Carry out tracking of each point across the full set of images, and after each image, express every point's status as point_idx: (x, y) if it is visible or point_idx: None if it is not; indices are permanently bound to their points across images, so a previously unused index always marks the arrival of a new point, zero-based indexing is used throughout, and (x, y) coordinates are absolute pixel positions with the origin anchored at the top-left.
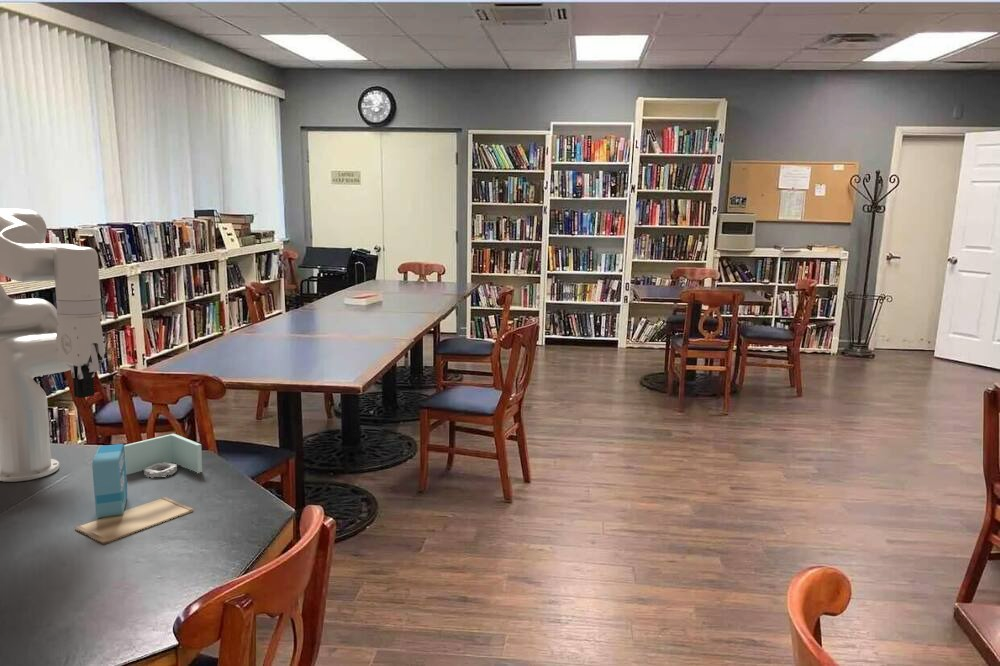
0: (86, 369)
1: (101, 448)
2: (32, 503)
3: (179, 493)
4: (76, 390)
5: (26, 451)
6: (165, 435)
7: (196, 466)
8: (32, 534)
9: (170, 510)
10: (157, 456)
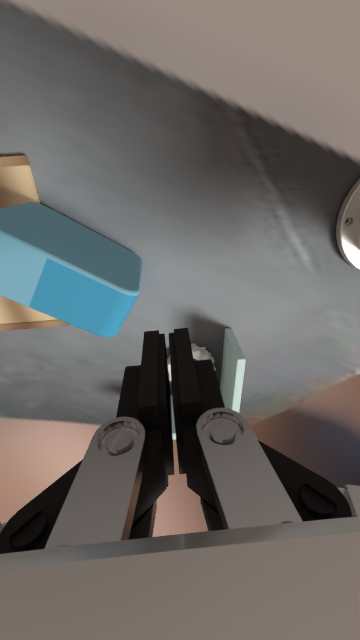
0: (2, 545)
1: (92, 285)
2: (222, 153)
3: (81, 346)
4: (157, 350)
5: None
6: None
7: None
8: (55, 78)
9: (6, 306)
10: (225, 385)
